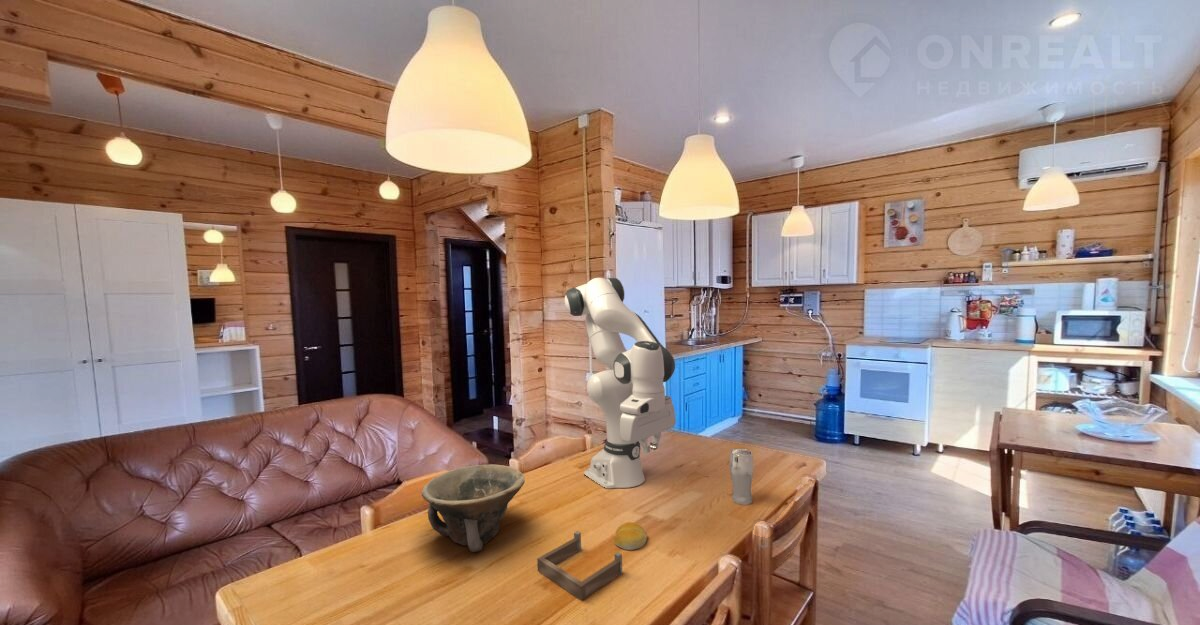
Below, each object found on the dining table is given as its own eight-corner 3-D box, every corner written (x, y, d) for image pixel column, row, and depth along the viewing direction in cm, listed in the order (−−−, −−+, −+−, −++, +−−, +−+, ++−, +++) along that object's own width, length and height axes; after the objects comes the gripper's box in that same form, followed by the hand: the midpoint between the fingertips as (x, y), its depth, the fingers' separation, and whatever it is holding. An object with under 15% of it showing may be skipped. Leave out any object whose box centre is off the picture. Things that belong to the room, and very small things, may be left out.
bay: (537, 570, 103) (536, 552, 103) (578, 547, 112) (577, 530, 112) (581, 600, 92) (580, 580, 92) (622, 572, 101) (621, 553, 101)
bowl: (494, 501, 140) (492, 455, 139) (545, 531, 121) (543, 477, 121) (408, 535, 121) (406, 481, 121) (453, 576, 102) (450, 512, 102)
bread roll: (612, 550, 111) (612, 535, 111) (617, 532, 120) (617, 517, 119) (645, 552, 109) (644, 537, 109) (647, 533, 118) (647, 519, 118)
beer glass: (755, 506, 131) (754, 456, 131) (731, 504, 133) (730, 455, 132) (752, 496, 138) (751, 448, 138) (729, 494, 139) (728, 448, 139)
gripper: (662, 393, 130) (663, 439, 130) (615, 406, 116) (617, 458, 116) (680, 395, 126) (681, 443, 126) (633, 410, 111) (635, 464, 112)
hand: (650, 450), depth 121 cm, fingers open, 2 cm apart
